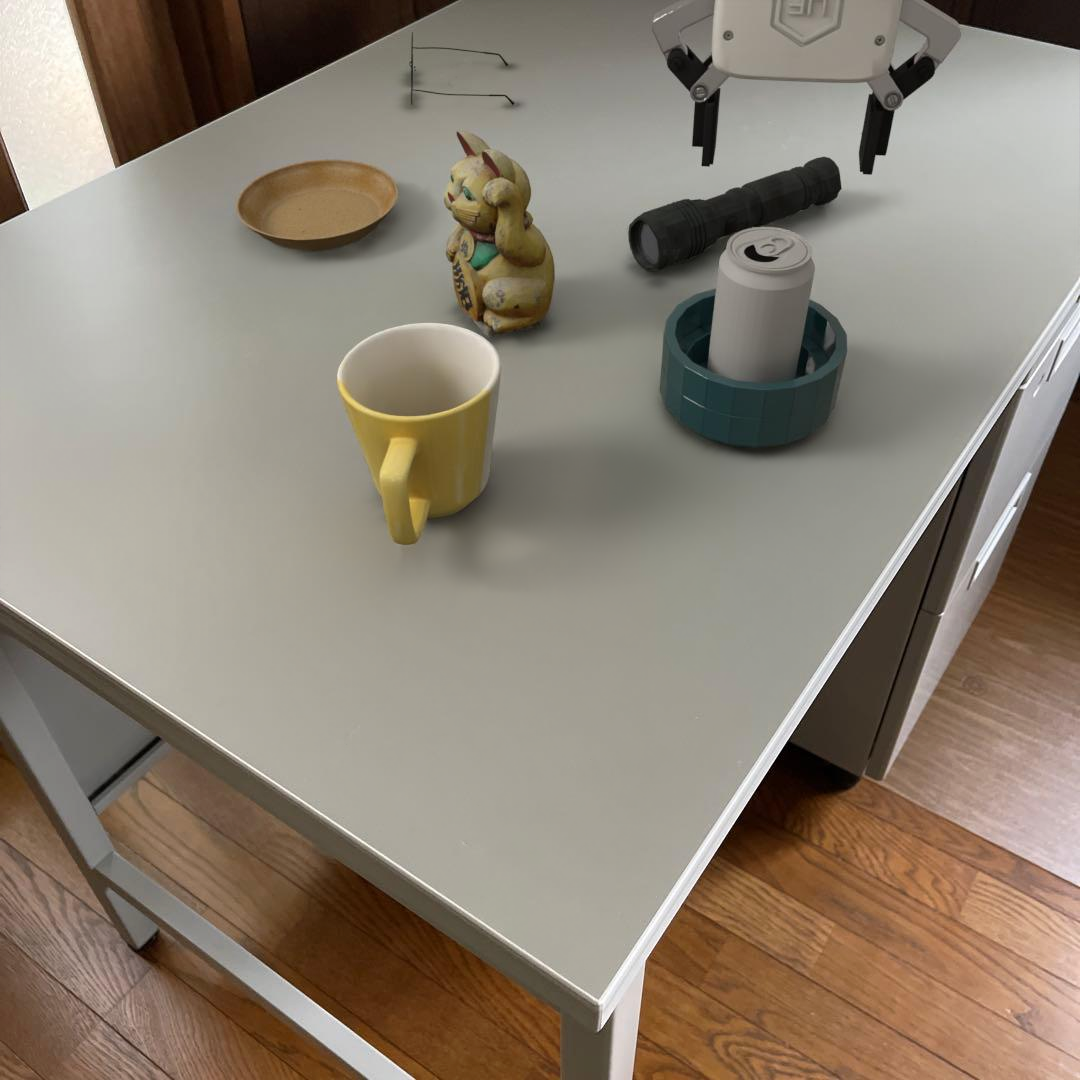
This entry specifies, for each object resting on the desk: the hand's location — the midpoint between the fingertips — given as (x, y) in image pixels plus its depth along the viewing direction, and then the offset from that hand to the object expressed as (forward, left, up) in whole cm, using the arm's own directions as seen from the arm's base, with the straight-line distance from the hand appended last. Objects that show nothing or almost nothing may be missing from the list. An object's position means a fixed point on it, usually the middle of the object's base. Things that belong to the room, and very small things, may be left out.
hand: (785, 160), depth 69 cm
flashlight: (+2, -24, -19) cm, 31 cm away
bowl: (0, 0, -19) cm, 19 cm away
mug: (+21, +15, -19) cm, 32 cm away
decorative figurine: (+20, -9, -19) cm, 30 cm away
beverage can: (0, 0, -18) cm, 18 cm away
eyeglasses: (+34, -52, -19) cm, 65 cm away
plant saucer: (+40, -21, -19) cm, 50 cm away
